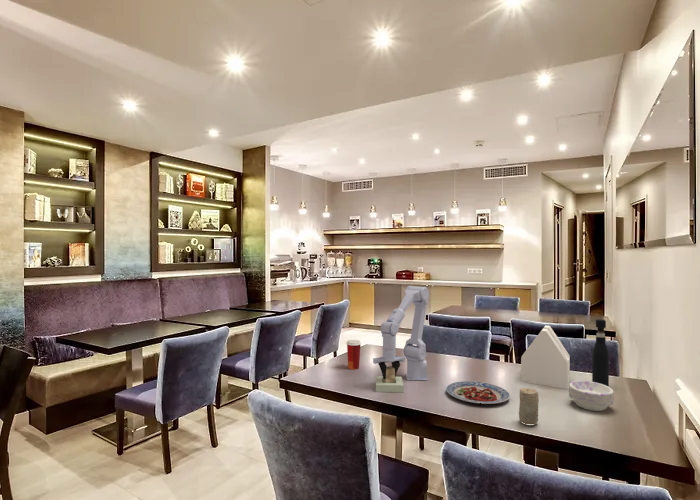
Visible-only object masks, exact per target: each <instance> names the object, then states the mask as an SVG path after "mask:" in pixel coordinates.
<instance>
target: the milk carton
mask: <svg viewBox="0 0 700 500" xmlns="http://www.w3.org/2000/svg"><path fill="white" fill-rule="evenodd" d="M570 357H571V355H570V353H568V351H567V349H566V347H565V346H564V344H563V343H562V341H560V338H559V337H558V335H557V333H555V332H554V329H553V328H552V326H551V325H544V327H543V328H542V329H541V330H540V332H539V333H538V335H537V336H536V337H535V338H534V340H533V341H532V342H531V343H530V344H529V346H528V347H527V349H526V350H525V351H524V352H523V354H522V355H521V358H520V360H521V361H520V382H523V383H529V384H535V385H541V386H547V387H553V388H558V389H565V390H568V389H569V384H570V380H571V379H570V378H571V377H570V376H571V373H570V371H571V370H570V369H571V367H570V366H571V365H570V364H571V363H570V362H571V359H570Z"/></svg>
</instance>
